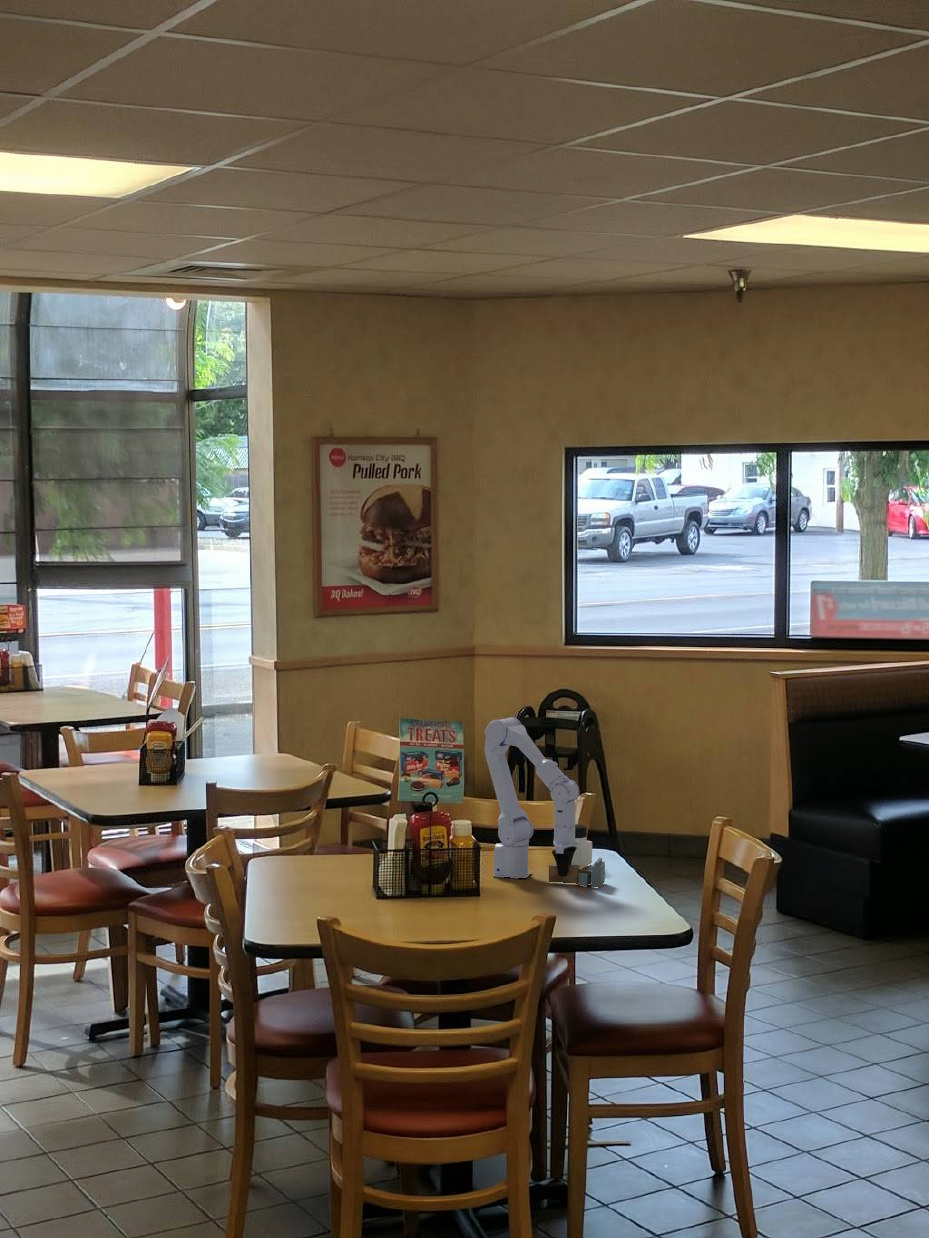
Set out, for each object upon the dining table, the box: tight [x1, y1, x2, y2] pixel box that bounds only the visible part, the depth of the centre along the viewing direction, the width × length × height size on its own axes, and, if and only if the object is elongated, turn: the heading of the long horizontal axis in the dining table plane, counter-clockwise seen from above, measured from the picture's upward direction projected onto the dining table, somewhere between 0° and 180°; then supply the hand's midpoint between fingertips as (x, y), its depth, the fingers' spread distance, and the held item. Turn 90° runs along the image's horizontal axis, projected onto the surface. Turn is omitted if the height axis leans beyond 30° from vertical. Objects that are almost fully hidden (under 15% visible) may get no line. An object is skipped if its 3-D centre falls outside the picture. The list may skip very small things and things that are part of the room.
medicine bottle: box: [571, 823, 593, 867], centre depth 420 cm, size 7×7×12 cm
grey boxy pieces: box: [578, 857, 606, 889], centre depth 396 cm, size 6×7×7 cm
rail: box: [548, 862, 592, 884], centre depth 398 cm, size 12×3×5 cm, turn 75°
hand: (564, 874), depth 398 cm, fingers closed on rail, 3 cm apart
